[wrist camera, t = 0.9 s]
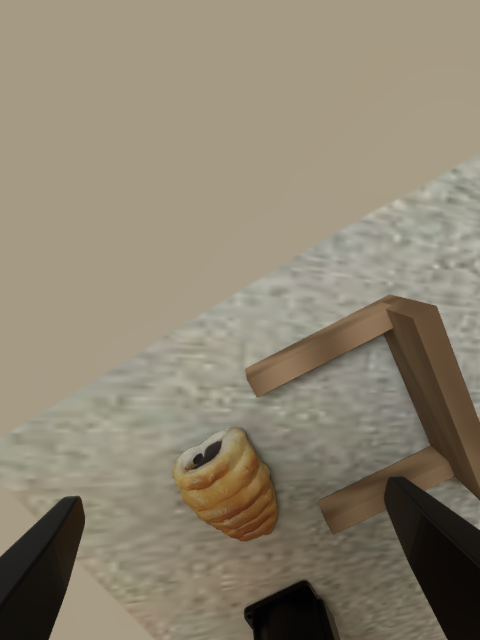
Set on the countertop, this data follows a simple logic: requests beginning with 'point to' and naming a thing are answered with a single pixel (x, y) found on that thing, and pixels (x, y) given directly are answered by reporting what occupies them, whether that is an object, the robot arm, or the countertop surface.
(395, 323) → the frame
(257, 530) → the pastry
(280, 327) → the countertop surface
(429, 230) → the countertop surface
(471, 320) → the countertop surface
